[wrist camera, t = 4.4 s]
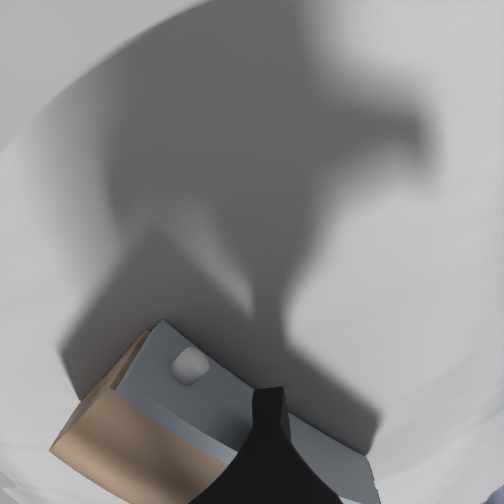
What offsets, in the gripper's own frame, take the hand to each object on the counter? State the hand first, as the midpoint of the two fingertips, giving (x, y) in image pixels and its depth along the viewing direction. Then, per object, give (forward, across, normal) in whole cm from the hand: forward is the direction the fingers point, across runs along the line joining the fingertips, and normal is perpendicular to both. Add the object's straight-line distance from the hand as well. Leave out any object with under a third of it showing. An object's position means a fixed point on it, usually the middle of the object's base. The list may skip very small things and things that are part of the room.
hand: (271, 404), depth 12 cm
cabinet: (+2, +4, +6) cm, 8 cm away
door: (+2, -1, +3) cm, 4 cm away
